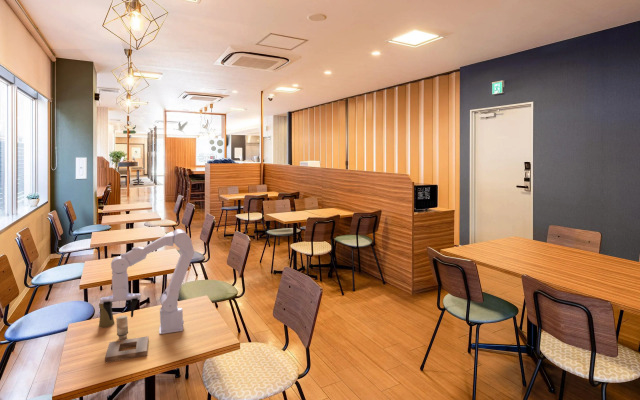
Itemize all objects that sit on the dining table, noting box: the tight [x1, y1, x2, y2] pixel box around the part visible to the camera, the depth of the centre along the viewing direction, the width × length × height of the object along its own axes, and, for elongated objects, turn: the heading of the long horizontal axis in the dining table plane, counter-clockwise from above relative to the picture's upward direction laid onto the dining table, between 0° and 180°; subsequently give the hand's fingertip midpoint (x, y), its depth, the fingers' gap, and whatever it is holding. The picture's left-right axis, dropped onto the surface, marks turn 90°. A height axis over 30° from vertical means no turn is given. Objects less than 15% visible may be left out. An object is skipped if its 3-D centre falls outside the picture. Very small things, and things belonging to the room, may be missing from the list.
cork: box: [98, 302, 115, 329], centre depth 165 cm, size 6×6×11 cm
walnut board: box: [104, 335, 149, 364], centre depth 144 cm, size 14×12×2 cm
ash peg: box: [115, 314, 129, 341], centre depth 153 cm, size 4×4×9 cm
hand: (121, 317), depth 153 cm, fingers open, 7 cm apart
